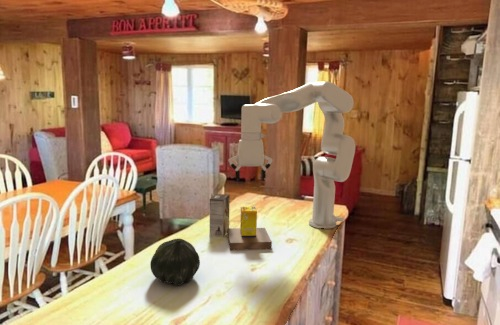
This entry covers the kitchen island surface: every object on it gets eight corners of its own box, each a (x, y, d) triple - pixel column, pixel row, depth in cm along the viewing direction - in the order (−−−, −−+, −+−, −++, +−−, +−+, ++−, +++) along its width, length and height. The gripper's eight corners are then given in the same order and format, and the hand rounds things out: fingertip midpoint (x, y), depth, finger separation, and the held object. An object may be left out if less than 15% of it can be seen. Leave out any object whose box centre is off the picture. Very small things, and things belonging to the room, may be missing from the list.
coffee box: (215, 228, 171) (215, 193, 169) (229, 230, 170) (230, 194, 167) (209, 236, 163) (209, 198, 160) (223, 237, 161) (224, 199, 159)
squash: (160, 250, 133) (153, 228, 121) (204, 253, 133) (200, 232, 121) (151, 291, 124) (142, 272, 113) (197, 294, 124) (193, 276, 112)
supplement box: (240, 232, 159) (240, 206, 157) (254, 232, 160) (255, 206, 158) (241, 237, 153) (241, 210, 151) (256, 237, 154) (257, 210, 152)
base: (264, 234, 166) (264, 227, 165) (271, 249, 150) (271, 241, 150) (227, 235, 164) (227, 228, 163) (230, 250, 148) (230, 242, 148)
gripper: (271, 135, 155) (270, 177, 158) (227, 135, 152) (227, 178, 155) (275, 138, 147) (273, 182, 150) (229, 138, 145) (229, 182, 148)
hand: (250, 180), depth 153 cm, fingers open, 9 cm apart
